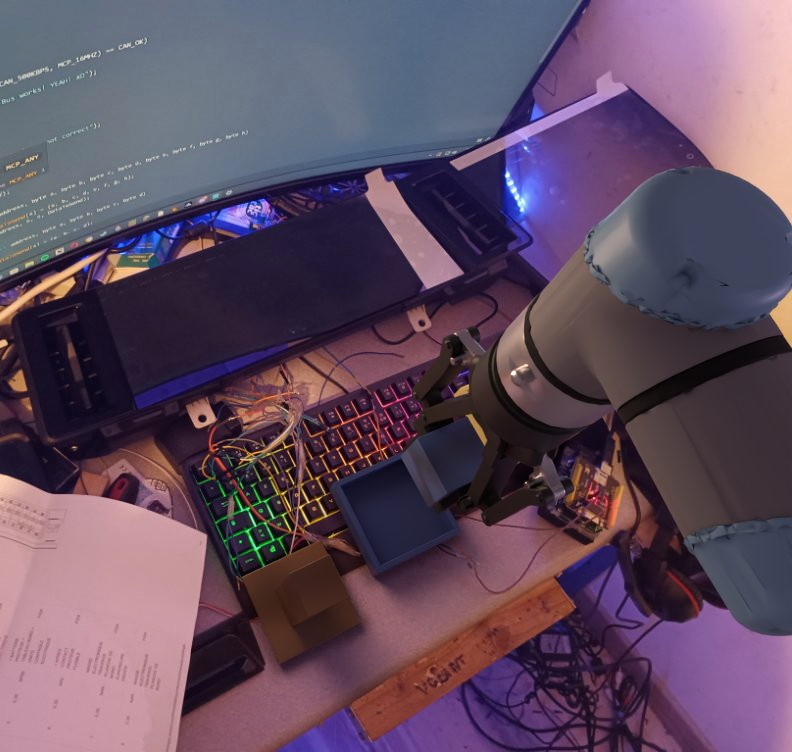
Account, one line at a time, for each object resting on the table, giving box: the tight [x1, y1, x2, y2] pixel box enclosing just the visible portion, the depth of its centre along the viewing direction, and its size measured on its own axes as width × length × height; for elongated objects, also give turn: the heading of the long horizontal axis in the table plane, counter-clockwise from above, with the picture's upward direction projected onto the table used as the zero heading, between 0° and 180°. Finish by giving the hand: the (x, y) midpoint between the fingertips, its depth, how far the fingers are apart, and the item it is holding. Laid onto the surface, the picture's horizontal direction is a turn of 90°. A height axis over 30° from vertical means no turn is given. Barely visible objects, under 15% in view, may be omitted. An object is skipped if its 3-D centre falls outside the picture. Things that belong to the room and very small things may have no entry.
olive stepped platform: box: [241, 539, 361, 665], centre depth 67 cm, size 9×9×12 cm
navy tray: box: [329, 451, 462, 578], centre depth 76 cm, size 10×10×3 cm
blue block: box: [401, 416, 484, 508], centre depth 60 cm, size 5×5×5 cm
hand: (431, 475), depth 64 cm, fingers closed on blue block, 5 cm apart
